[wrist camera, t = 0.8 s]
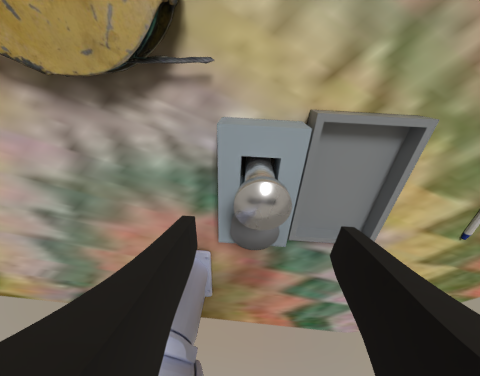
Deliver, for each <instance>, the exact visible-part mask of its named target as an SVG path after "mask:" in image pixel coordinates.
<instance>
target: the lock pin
mask: <svg viewBox="0 0 480 376" xmlns="http://www.w3.org/2000/svg"><path fill="white" fill-rule="evenodd" d="M291 211H292V201H291V198H290V195H289V192H288V190H287V188H286V187H285V185H284V184H283V183H281V182H280V181H278V180H277V179H275V176H274V172H273V168H272V164H271V161H270V158H267V157H251V156H247V158H246V167H245V182H244V183H243V184H242V185H241V186H240V187H239V188H238V190H237V192H236V194H235V199H234V213H235V215H236V217H237V219H238V220H239V221H240V222H241V223H242V224H243V225H245V226H246V227H248V228H251V229H255V230H270V229H273V228H276V227H278V226H280V225H281V224H283V223H284V222H285V221H286V220H287V219H288V217H289V216H290V214H291Z"/></svg>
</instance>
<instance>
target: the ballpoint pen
mask: <svg viewBox="0 0 480 376" xmlns="http://www.w3.org/2000/svg"><path fill="white" fill-rule="evenodd" d="M479 224H480V210H479V212H478V213H477V215H476V216H475V217H474V219H473V220H472V221H471V223H470V224H469V225H468V227H467V228H466V230H465V231H464V232H463V235H462V237H461V238H462V239H464V240H466V239H467V238H468V237H469V236H471V235H472V233H473V232H474V231H475V229H476V228H477V227H478V226H479Z"/></svg>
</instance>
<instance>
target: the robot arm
mask: <svg viewBox="0 0 480 376" xmlns="http://www.w3.org/2000/svg"><path fill="white" fill-rule="evenodd" d="M330 258H331V262H332V265H333V269H334V272H335V275H336V278H337V280H338V282H339V285H340V287H341V289H342V292H343V294H344V296H345V298H346V301H347V303H348V305H349V307H350V310H351V312H352V314H353V316H354V319H355V321H356V323H357V325H358V328H359V330H360V333H361V335H362V338H363V340H364V343H365V346H366V349H367V352H368V355H369V358H370V361H371V364H372V367H373V370H374V373H375V376H480V315H479V314H478V313H476V312H474V311H473V310H471V309H470V308H468V307H466V306H465V305H463V304H462V303H460V302H459V301H457V300H455V299H454V298H452V297H451V296H449V295H448V294H446V293H445V292H443V291H442V290H440V289H439V288H437V287H436V286H434V285H433V284H431V283H430V282H428V281H427V280H425V279H424V278H423V277H421V276H420V275H418V274H417V273H415V272H414V271H413V270H411V269H410V268H409V267H407V266H406V265H404V264H403V263H402V262H400V261H399V260H398V259H396V258H395V257H394V256H392V255H391V254H390V253H388V252H387V251H386V250H384V249H383V248H382V247H381V246H379V245H378V244H377V243H375V242H374V241H373V240H371V239H370V238H369V237H367V236H366V235H365V234H363V233H362V232H361V231H359V230H358V229H356V228H355V227H345V226H341V229H340V231H339V234H338V236H337V239H336V241H335V244H334V246H333V249H332V251H331V254H330ZM205 296H206V297H210V296H212V274H211V253H210V252H209V251H202V250H197V235H196V224H195V216H182V217H181V218H179V219H178V220H177V221H176V222H175V223H174V224H173V225H172V226H171V227H170V228H169V229H168V230H167V231H165V232H164V233H163V234H162V235H161V236H160V237H159V238H158V239H157V240H155V241H154V242H153V243H152V244H151V245H150V246H149V247H148V248H146V249H145V250H144V251H143V252H141V253H140V254H139V255H138V256H137V257H135V258H134V259H133V260H132V261H130V262H129V263H128V264H126V265H125V266H124V267H123V268H121V269H120V270H118V271H117V272H116V273H114V274H113V275H111V276H110V277H109V278H107V279H106V280H104V281H103V282H101V283H100V284H98V285H97V286H95V287H94V288H92V289H91V290H89V291H87V292H86V293H84V294H83V295H81V296H80V297H78V298H76V299H75V300H73V301H72V302H70V303H68V304H67V305H65V306H64V307H62V308H60V309H58V310H57V311H55V312H53V313H52V314H50V315H48V316H46V317H45V318H43V319H41V320H40V321H38V322H36V323H34V324H32V325H30V326H29V327H27V328H25V329H23V330H21V331H20V332H18V333H16V334H14V335H12V336H10V337H9V338H7V339H5V340H3V341H1V342H0V376H204V375H203V371H202V367H201V363H200V362H199V361H198V360H196V354H197V349H198V348H197V347H195V346H193V345H194V342H195V340H196V336H197V332H198V327H199V322H200V318H201V313H202V308H203V303H204V299H205Z"/></svg>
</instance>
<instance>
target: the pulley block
mask: <svg viewBox="0 0 480 376" xmlns="http://www.w3.org/2000/svg"><path fill="white" fill-rule="evenodd" d="M177 1H178V0H0V54H1V55H3V56H6V57H8V58H10V59H12V60H15V61H17V62H19V63H21V64H24V65H26V66H28V67H30V68H33V69H35V70H37V71H39V72H42V73H44V74H46V75H54V74H57V75H65V76H93V75H99V74H102V73H114V72H118V71H122V70H126V69H128V68H130V67H132V66H134V65H136V64H138V63H195V62H200V63H209V62H212V61H214V59H212V58H211V57H187V58H173V57H166V56H152V57H147V56H148V55H149V54H150V53H151V52H153V51H154V50H155V48H156V47H157V46H158V44H159V43H160V42H161V40H162V39H163V37H164V35H165V33H166V31H167V29H168V27H169V25H170V23H171V21H172V16H173V11H174V8H175V6H176V4H177Z"/></svg>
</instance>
